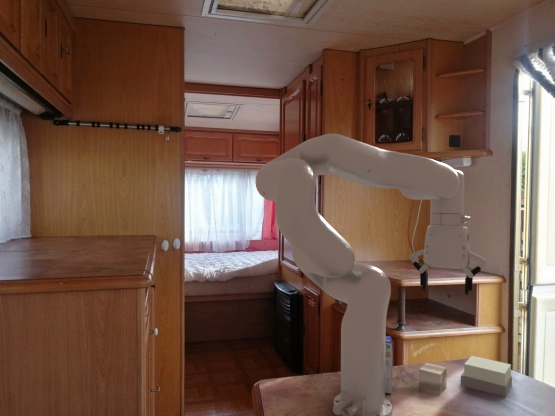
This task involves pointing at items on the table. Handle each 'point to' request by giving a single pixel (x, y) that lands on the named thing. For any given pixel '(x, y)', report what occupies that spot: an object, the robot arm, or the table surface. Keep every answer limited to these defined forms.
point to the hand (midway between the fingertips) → (445, 291)
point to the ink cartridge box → (388, 365)
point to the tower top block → (487, 370)
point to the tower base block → (486, 385)
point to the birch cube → (432, 378)
